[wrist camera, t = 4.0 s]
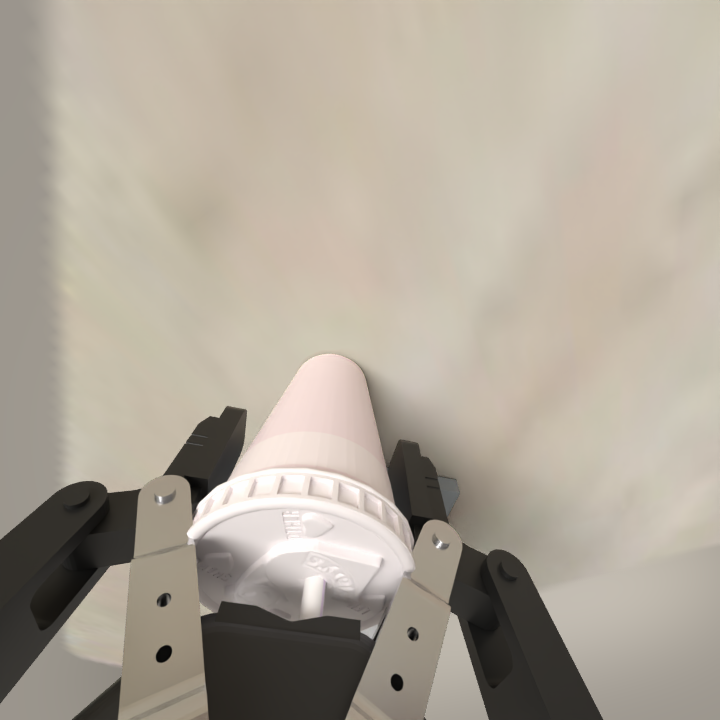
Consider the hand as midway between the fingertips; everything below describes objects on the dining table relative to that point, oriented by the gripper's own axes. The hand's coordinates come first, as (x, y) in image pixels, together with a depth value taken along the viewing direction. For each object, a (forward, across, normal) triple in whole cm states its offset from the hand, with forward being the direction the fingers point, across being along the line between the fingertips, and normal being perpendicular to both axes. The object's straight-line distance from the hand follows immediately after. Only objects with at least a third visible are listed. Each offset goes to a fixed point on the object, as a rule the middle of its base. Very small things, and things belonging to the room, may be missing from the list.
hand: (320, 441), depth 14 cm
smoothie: (+4, 0, 0) cm, 4 cm away
